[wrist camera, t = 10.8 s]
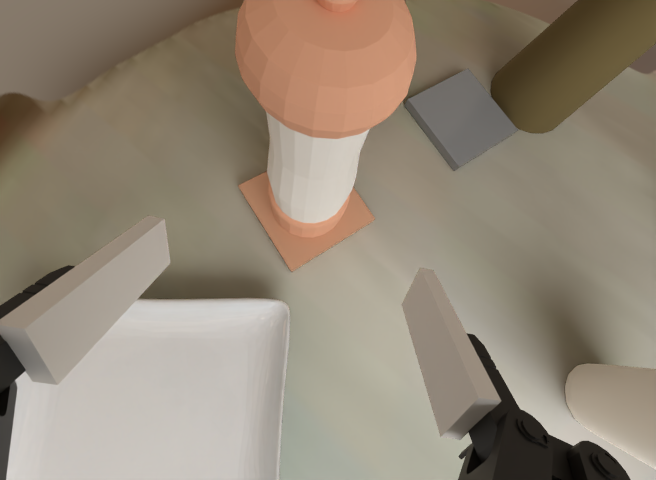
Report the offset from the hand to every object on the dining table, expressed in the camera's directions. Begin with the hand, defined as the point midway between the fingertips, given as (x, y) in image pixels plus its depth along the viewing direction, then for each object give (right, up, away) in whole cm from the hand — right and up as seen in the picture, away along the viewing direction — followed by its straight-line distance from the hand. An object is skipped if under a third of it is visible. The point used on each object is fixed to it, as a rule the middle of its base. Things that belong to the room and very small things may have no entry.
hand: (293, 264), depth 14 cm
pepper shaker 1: (0, +5, +13) cm, 14 cm away
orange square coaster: (0, +5, +13) cm, 14 cm away
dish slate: (+18, +16, +18) cm, 30 cm away
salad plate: (-12, -14, +8) cm, 21 cm away
